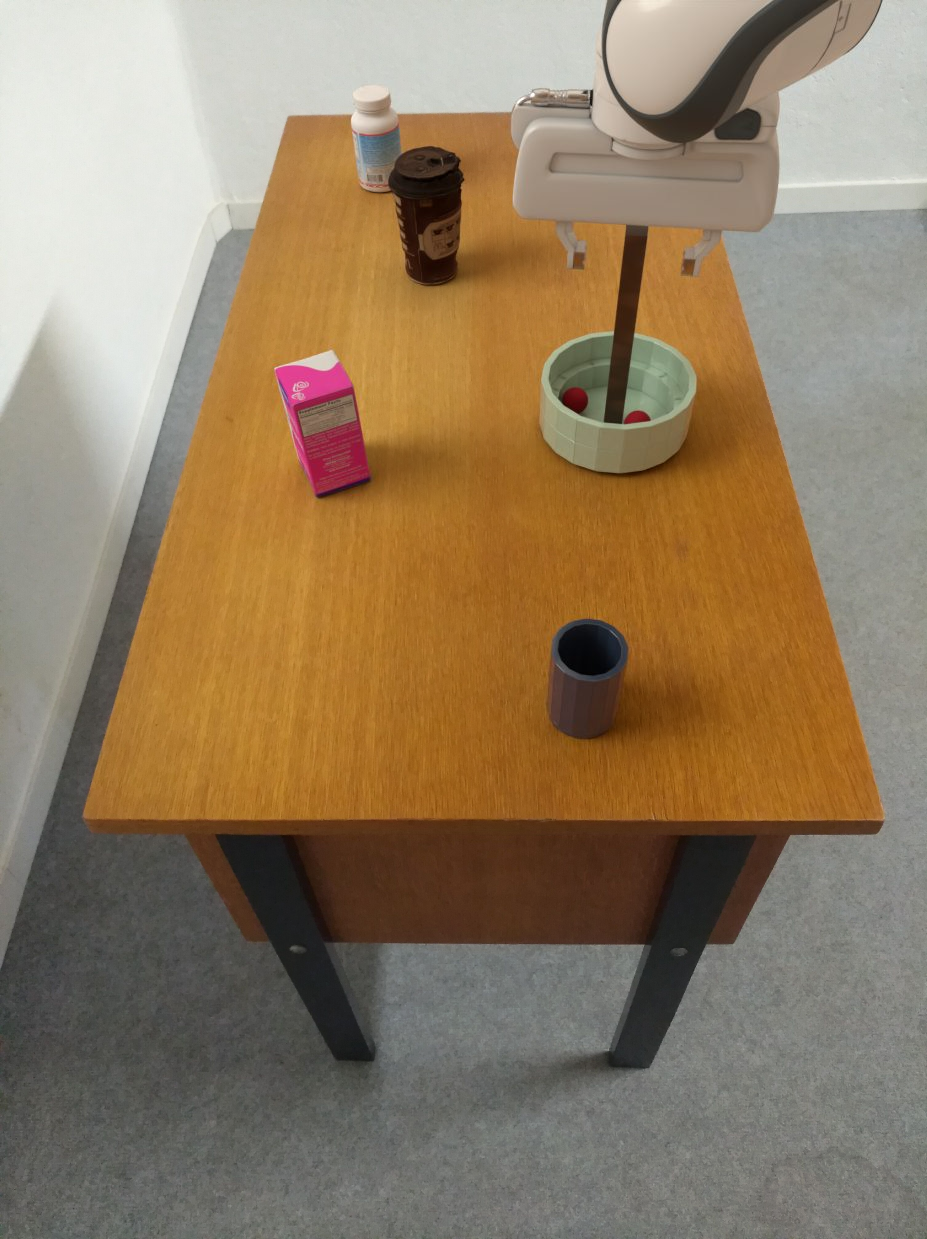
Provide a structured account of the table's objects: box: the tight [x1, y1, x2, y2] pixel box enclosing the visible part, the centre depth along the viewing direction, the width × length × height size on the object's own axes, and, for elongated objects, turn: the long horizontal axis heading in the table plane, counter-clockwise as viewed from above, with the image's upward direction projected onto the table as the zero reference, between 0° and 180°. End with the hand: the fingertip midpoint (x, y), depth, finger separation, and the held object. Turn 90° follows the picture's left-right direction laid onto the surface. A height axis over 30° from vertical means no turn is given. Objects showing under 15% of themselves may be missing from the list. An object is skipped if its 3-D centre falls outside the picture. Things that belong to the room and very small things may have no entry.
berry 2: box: [624, 410, 651, 424], centre depth 86 cm, size 3×3×3 cm
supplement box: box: [273, 349, 372, 499], centre depth 82 cm, size 6×6×12 cm
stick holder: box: [546, 617, 630, 740], centre depth 66 cm, size 5×5×8 cm
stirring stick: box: [604, 225, 650, 424], centre depth 80 cm, size 2×2×20 cm
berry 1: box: [562, 387, 588, 414], centre depth 88 cm, size 3×3×3 cm
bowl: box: [538, 330, 698, 474], centre depth 86 cm, size 14×14×6 cm
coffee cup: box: [388, 145, 466, 285], centre depth 101 cm, size 9×8×13 cm
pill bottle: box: [350, 84, 403, 193], centre depth 115 cm, size 6×6×11 cm
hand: (632, 269), depth 75 cm, fingers open, 8 cm apart
